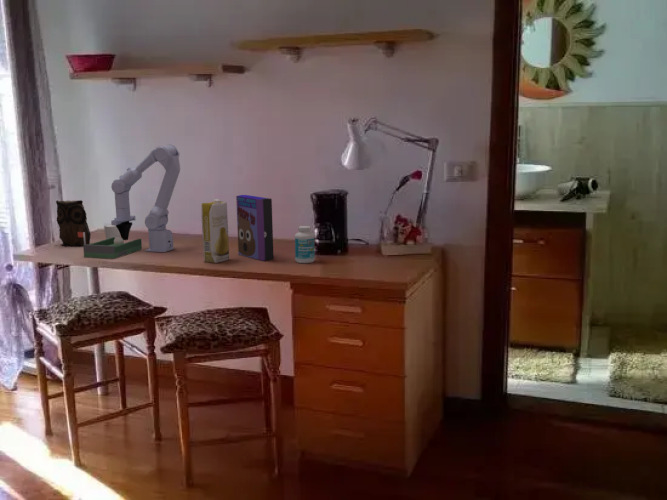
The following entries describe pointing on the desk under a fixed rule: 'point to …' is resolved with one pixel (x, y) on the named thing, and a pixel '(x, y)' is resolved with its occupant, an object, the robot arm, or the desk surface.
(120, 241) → the golf ball
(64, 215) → the owl
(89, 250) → the putting green
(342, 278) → the desk surface
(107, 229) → the grey cup
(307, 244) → the pill bottle
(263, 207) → the cereal box
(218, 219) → the juice carton
